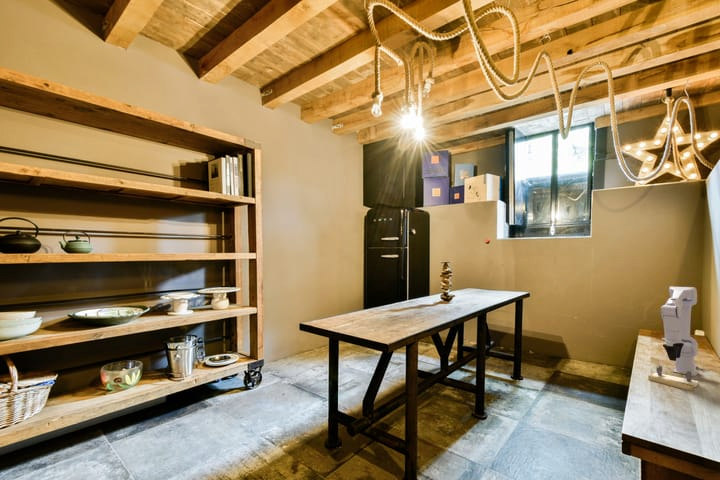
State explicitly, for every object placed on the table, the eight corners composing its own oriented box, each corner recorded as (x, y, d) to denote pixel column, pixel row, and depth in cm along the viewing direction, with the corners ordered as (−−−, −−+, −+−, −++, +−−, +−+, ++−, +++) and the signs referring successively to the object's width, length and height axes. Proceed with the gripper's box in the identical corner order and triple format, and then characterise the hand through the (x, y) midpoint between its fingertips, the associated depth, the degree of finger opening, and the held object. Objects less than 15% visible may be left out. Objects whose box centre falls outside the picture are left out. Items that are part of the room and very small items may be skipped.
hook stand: (655, 375, 158) (654, 364, 159) (698, 384, 146) (697, 372, 147) (651, 377, 154) (650, 366, 155) (695, 387, 142) (694, 375, 143)
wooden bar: (651, 379, 153) (650, 374, 153) (693, 391, 139) (693, 385, 139) (648, 380, 152) (648, 375, 152) (690, 391, 138) (690, 386, 139)
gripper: (665, 327, 162) (667, 354, 161) (657, 330, 154) (659, 359, 153) (684, 329, 156) (687, 357, 155) (677, 333, 148) (679, 363, 147)
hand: (674, 359), depth 153 cm, fingers open, 7 cm apart
